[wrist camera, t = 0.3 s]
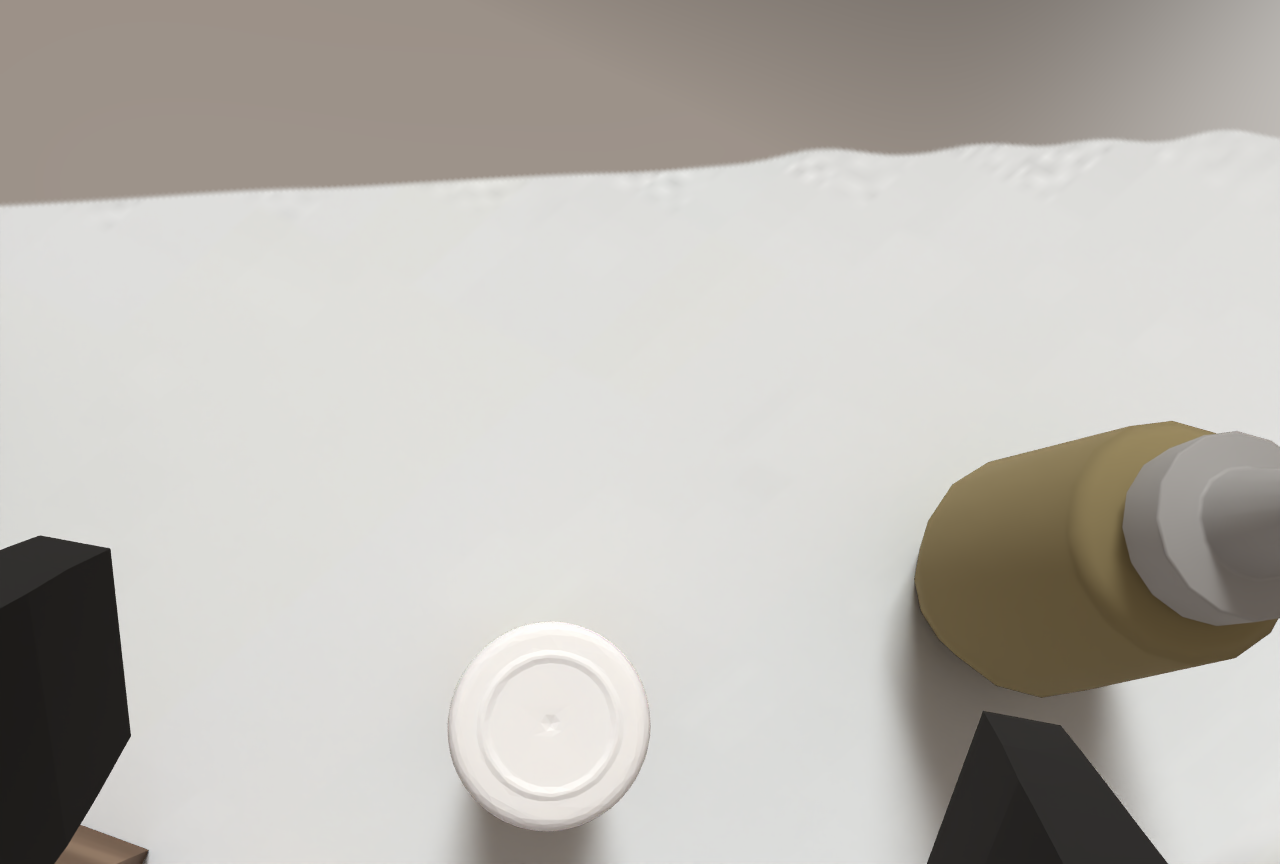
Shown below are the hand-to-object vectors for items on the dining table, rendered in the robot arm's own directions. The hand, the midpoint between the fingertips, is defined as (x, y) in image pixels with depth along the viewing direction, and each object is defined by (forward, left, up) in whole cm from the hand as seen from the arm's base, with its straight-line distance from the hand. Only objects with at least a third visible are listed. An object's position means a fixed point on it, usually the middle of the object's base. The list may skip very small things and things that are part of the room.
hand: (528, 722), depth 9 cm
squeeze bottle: (+10, -15, -29) cm, 34 cm away
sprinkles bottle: (0, -1, -29) cm, 29 cm away
